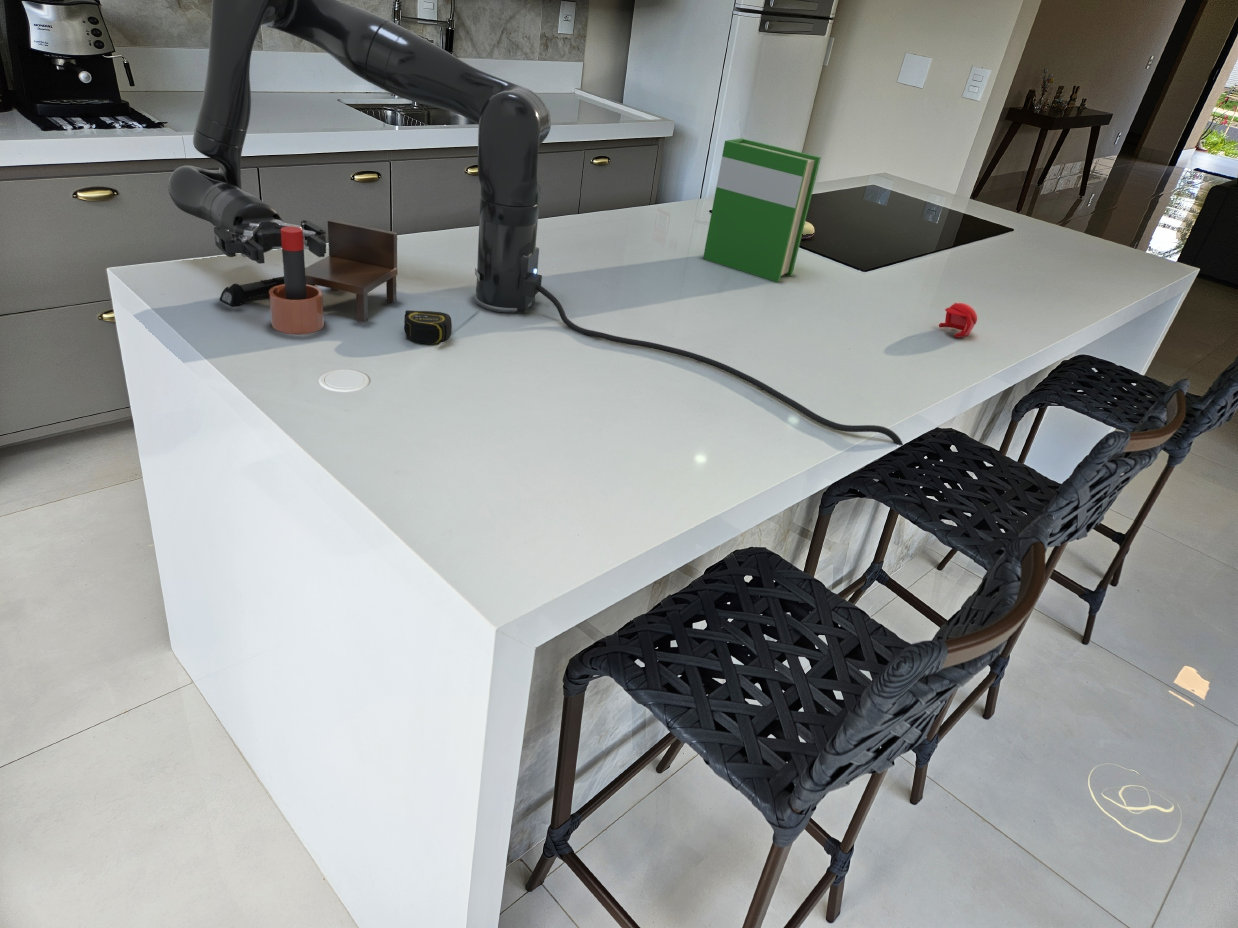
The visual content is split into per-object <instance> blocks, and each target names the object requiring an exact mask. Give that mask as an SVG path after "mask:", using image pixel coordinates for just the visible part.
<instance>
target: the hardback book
mask: <svg viewBox="0 0 1238 928" xmlns="http://www.w3.org/2000/svg"><path fill="white" fill-rule="evenodd" d="M821 159H822V157H821V156H817V155H813V154H808V153H804V152H801V151H797V150H792V149H787V148H783V147H780V146H775V145H772V144H771V145H770V144H767V143H763V142H759V141H755V140H750V139H746V138H741V137H740V138H734V139H728V140H724V143H723V148H722V154H721V160H720V165H719V171H718V176H717V181H716V187H715V193H714V198H713V202H712V203H713V204H712V209H711V214H710V219H709V225H708V230H707V234H706V235H707V236H706V241H705V246H704V250H703V257H702V259H703V260H706V261H710V262H712V263H715V264H718V265H722V266H725V267H728V268H732V269H734V270H738V271H741V272H744V273H746V274H751V275H754V276H756V277H760V278H763V279H766V280H770V281H772V282H774V283H775V282H776V283H779V282H780V281H781V277H782V276H783V275H785V276H789V277H792V276H793V274H794V269H795V266H796V261H797V257H798V253H799V249H800V245H801V241H802V239H801V237H802V233H803V229H804V225H805V221H806V220H807V216H808V212H809V208H810V204H811V200H812V195H813V191H814V188H815V183H816V180H817V179H816V178H817V175H818V171H819V167H820V163H821ZM806 222H807V221H806Z"/></svg>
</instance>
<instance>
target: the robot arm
mask: <svg viewBox="0 0 1238 928" xmlns="http://www.w3.org/2000/svg"><path fill="white" fill-rule="evenodd" d="M210 18H211V19H210V32H209V33H210V34H209V45H208V55H207V58H208V59H207V67H206V75H205V80H204V81H205V82H204V88H203V91H202V92H203V93H202V97H201V103H200V105H199V110H198V115H197V118H196V123H195V129H194V131H193V136H192V146H193V147H194V149H196V151H197V152H198V153H200V154H201V155H203V156H205V157H206V158H209V159H211V160H213V161H216V162H217V163H218V165H219V168H218V171H215V170H211V169H206V168H203V167H202V168H201V167H198V166H194V165H187V164H186V165H182V166H179V167H176V168H175V169H174V170H173V171H172V173H171V174H170V176H169V178H168V183H167V188H168V194H169V196H170V200H171V201H172V203H173V204H174V206H176V207H177V208H178V210H180V211H182V212H183V213H186V214H189V215H191V216H193V217H195V218H198V219H201V220H203V221H206V222H209V223H210V224H211V225H212V226H214V227H213V234H214V241H215V246H216V247H217V248H218V249H219V250H220V251H221V252H222V253H223V254H224V256H226V257H228V258H234V257H237V254H241V257H244V258H248V259H249V260H250V261H253V262H256V263H257V264H260V265H261V264H265V261H266V260H265V253H267V252H270V251H271V250H273V249H276V250H277V249H278V250H280V249H282V241H281V228H283V227H289V226H291V227H299V228H301V229H302V230H303V241H306V242H303V245H304V250H307V251H309V252H310V253H312V254H313V255H315V256H316V257H318V258H325V256H326V254H327V239H326V237H327V236H326V234H327V233H326V232H327V231H326V229H325V228H322V227H320V226H319V225H317V224H315V223H313V222H312V221H310V220H307V219H303V220H300V225H298V224H293V223H289V222H284V220H283V218H282V217H281V216H280V214H279V212H278V211H277V210H276V209H275V208H273V207H272V206H271V205H269V204H267V203H266V202H264V201H263V200H261V199H260V198H258V197H257V196H255V195H254V194H251V193H249V192H247V191H244V190H243V189H242V155H243V154H242V153H243V148H244V144H245V140H246V137H247V133H248V129H249V125H250V120H251V115H252V114H251V113H252V89H251V74H250V73H251V72H250V70H251V59H252V54H253V53H252V52H253V48H254V45H255V41H256V38H257V37H258V33H259V31H260V29H261V27H265V28H270V29H273V30H277V31H279V32H283V33H285V34H289V35H291V36H293V37H296V38H299V39H300V40H303V41H305V42H308V43H310V44H312V45H314V46H316V47H318V48H320V50H323V51H324V52H325V53H327V54H328V55H330V56H331V57H332V58H333V59H334V60H336V61H337V62H338V63H339V64H341V65H342V66H343V67H344V68H346V69H347V70H348V71H350V72H351V73H353V74H354V75H355V76H357V77H359V78H360V79H362V80H364V81H365V82H368V83H370V84H372V85H373V86H376V87H378V88H379V89H381V90H384V91H385V92H388V93H389V94H392V95H394V96H397V97H399V98H401V99H405V100H407V101H411V102H413V103H417V104H421V105H425V106H428V107H432V108H436V109H441V110H444V111H448V112H451V113H453V114H457V115H459V116H462V117H464V118H465V119H467V120H470V121H471V122H473V123H475V124H477V125H478V130H477V132H478V134H477V138H478V139H477V176H478V181H479V183H480V197H479V198H480V200H479V218H478V219H479V220H478V221H479V222H478V240H477V241H478V243H477V263H476V267H474V275H475V277H476V282H475V283H476V286H475V295H474V301H475V303H476V304H477V305H478V306H479V307H481V308H483V309H486V310H490V311H493V312H498V313H519V314H525V313H526V312H527V311H528V310H529V309H530V308H531V307H532V306H533V305H534V304H535V302H536V296H537V294H538V293H540V294H542V295H543V296H544V297H545V298H546V299H548V300H549V301H550V302H551V304H552V305H554V307H555V308H556V310H557V312H558V315H559V317H560V319H561V321H562V323H564V324H565V326H567V327H568V328H569V329H571V330H572V331H575V332H577V333H579V334H582V335H584V336H589V337H594V338H597V339H603V340H606V341H610V342H613V343H614V342H615V343H619V344H623V345H624V344H625V345H630V346H636V347H640V348H641V347H642V348H647V349H652V350H655V351H656V350H657V351H661V352H665V353H670V354H673V355H677V356H681V357H685V358H688V359H690V360H694V361H697V362H701V363H704V364H706V365H709V366H712V367H715V368H717V369H718V370H719V369H720V370H722V371H724V372H727V373H729V374H730V375H733V376H735V377H737V378H739V379H741V380H743V381H745V382H747V383H749V384H751V385H754V386H755V387H757V388H758V389H760V390H762V391H764V392H765V393H767V394H769V395H771V396H772V397H774V398H776V399H778V400H779V401H781V402H783V403H784V404H786V405H788V406H790V407H791V408H793V409H795V410H797V411H798V412H799V413H801V414H803V415H804V416H806V417H807V418H809V419H811V420H813V421H814V422H816V423H818V424H820V425H822V426H824V427H827V428H830V429H833V430H836V431H839V432H845V433H879V434H882V435H885V436H886V437H888V438H889V439H890V440H892V441H893V443H894V444H895V445H898V446H903V445H904V443H903V441H902V439H901V437H899V435H898V433H896V432H895V431H893V430H892V429H890V428H888V427H885V426H883V425H882V426H881V425H874V424H864V425H863V424H861V425H857V424H856V425H855V424H854V425H851V424H843V423H838V422H835V421H832V420H830V419H827V418H825V417H823V416H821V415H819V414H817V413H815V412H813V411H812V410H811V409H809V408H807V407H806V406H804V405H803V404H801V403H799V402H797V401H796V400H794V399H793V398H790V397H788V396H787V395H786V394H783V393H782V392H780V391H778V390H776V389H774V388H773V387H772V386H770V385H768V384H766V383H764V382H762V381H761V380H758V379H757V378H755V377H753V376H750V375H749V374H747V373H744V372H743V371H740V370H739V369H736V368H734V367H731V366H730V365H727V364H725V363H723V362H720V361H718V360H715V359H712V358H709V357H707V356H703V355H701V354H698V353H694V352H692V351H689V350H685V349H680V348H678V347H677V348H676V347H673V346H668V345H664V344H661V343H656V342H651V341H646V340H640V339H634V338H628V337H623V336H617V335H614V334H609V333H605V332H601V331H597V330H592V329H587V328H583V327H581V326H579V325H578V324H576V323H574V322H573V321H571V320H570V319H569V318H568V316H567V315H566V312H565V309H564V307H563V305H562V303H561V302H560V301H559V300H558V298H556V296H555V295H554V294H552V293H551V292H550V291H549V290H547V289H546V288H545V287H543V286H542V279H543V275H542V274H538V270H539V269H538V268H539V257H540V248H539V247H538V246H537V236H538V235H537V234H538V224H539V211H540V202H541V201H540V199H541V186H540V183H539V181H538V162H539V146H540V145H541V144H542V143H544V142H545V140H547V138H548V136H549V133H550V132H551V127H552V118H551V117H552V116H551V112H550V110H549V107H548V105H547V104H546V102H545V101H544V100H543V99H542V97H541V96H540V95H538V94H537V92H535V91H533V90H532V89H530V88H528V87H525V86H522V85H519V84H517V83H514V82H511V81H509V80H505V79H503V78H500V77H497V76H495V75H492V74H491V73H488V72H485V71H483V70H480V69H478V68H476V67H474V66H472V65H470V64H468V63H467V62H465V61H463V60H462V59H460V58H458V57H457V56H455V55H453V54H452V53H450V52H448V51H447V50H445V49H443V48H441V47H440V46H437V44H434V43H432V42H431V41H429V40H427V39H425V38H423V37H422V36H420V35H418V34H416V33H414V32H413V31H412V30H409V29H407V28H405V27H403V26H401V25H399V24H397V23H395V22H393V21H391V20H389V19H387V18H385V17H382V16H380V15H378V14H376V13H373V12H371V11H369V10H366V9H364V8H361V7H358V6H355V5H353V4H350V3H348V2H347V3H346V2H343V1H342V0H211V17H210Z"/></svg>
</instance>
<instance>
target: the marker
mask: <svg viewBox="0 0 1238 928" xmlns="http://www.w3.org/2000/svg"><path fill="white" fill-rule="evenodd" d="M281 241H282V248H281V254H282V255H281V256H282V265H283V266H282V267H283V276H284V282H285V296H286V299H290V300H303V299H307V294H306V278H305V268H306V265H305V264H306V263H305V262H306V261H305V249H304V245H303V243H304V240H303V230H302V229H301V228H299V227H291V226H289V227H283V228H281Z"/></svg>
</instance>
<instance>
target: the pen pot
mask: <svg viewBox="0 0 1238 928" xmlns="http://www.w3.org/2000/svg"><path fill="white" fill-rule="evenodd" d="M306 294H307V299H303V300H290V299H286V296H285V284H282V285H278V286H275V287H273V288H271V289H270V290H269V297H268V298H269V312H270V324H271V327H272V329H274V330H276V331H277V332H280V333H282V334H289V335H308V334H313V333H316V332H319V331H321V330H322V329H323V328H324V325H325V317H324V299H323V290H322V289H321V288H319V287H317V286H316V285H315V286H312V285H307V284H306Z"/></svg>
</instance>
